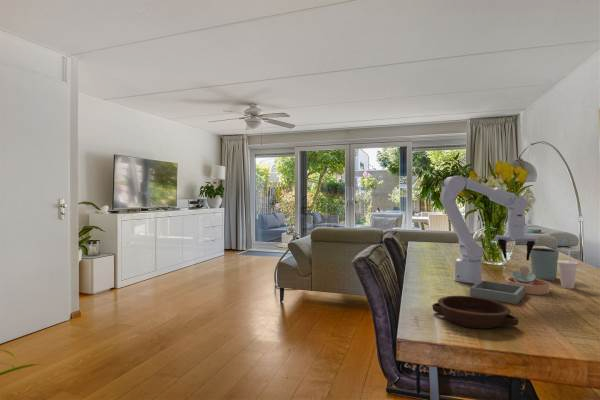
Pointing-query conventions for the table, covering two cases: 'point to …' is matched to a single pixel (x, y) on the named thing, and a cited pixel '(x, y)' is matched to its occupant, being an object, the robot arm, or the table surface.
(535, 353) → the table surface
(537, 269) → the grey green pot
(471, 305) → the dish
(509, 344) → the table surface
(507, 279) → the bowl
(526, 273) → the pacifier
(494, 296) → the gray square frame
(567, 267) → the smoothie
